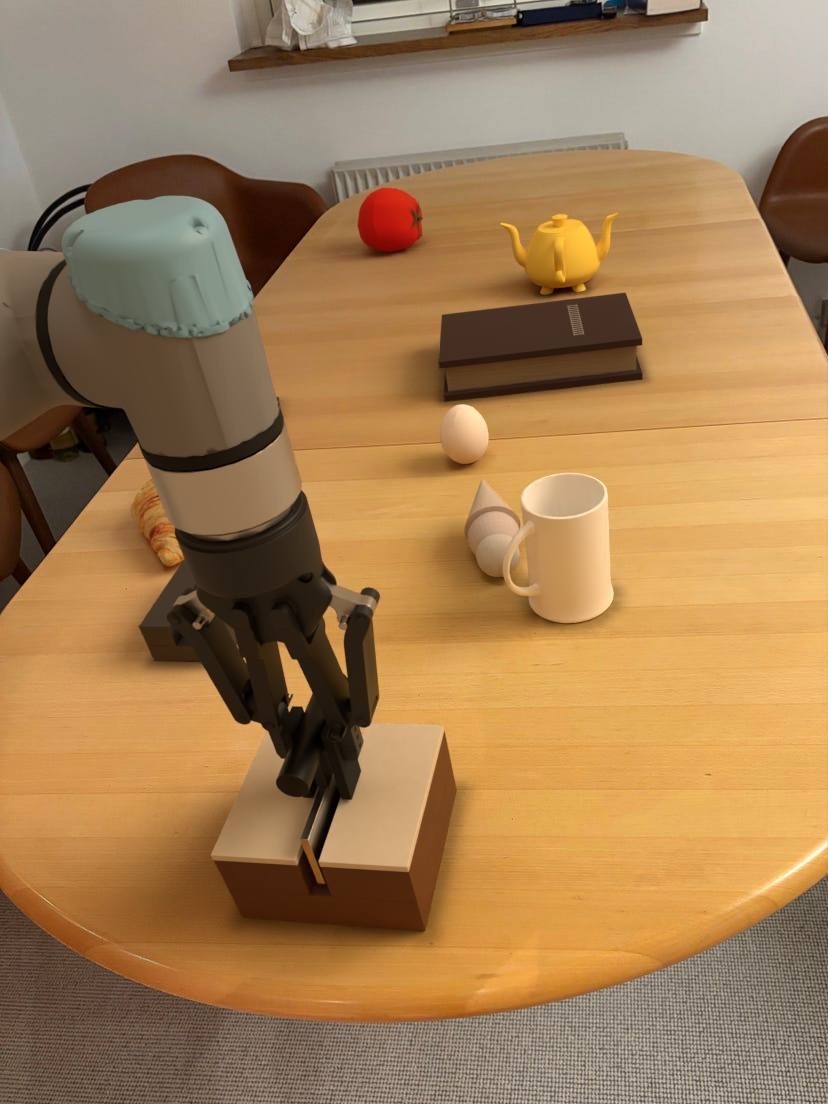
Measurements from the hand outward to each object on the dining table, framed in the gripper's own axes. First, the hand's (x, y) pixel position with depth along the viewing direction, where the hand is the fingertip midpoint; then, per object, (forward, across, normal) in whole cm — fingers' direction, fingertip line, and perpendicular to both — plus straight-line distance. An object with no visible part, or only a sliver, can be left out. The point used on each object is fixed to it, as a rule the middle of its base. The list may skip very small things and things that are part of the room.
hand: (332, 783), depth 66 cm
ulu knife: (+4, 0, 0) cm, 4 cm away
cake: (+8, 0, 0) cm, 8 cm away
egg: (+8, +1, -60) cm, 61 cm away
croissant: (+8, +35, -46) cm, 58 cm away
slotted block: (+8, +23, -28) cm, 37 cm away
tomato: (+8, +31, -148) cm, 151 cm away
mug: (+8, -13, -31) cm, 35 cm away
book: (+8, -5, -89) cm, 90 cm away
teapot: (+8, -6, -120) cm, 120 cm away
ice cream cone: (+8, -5, -41) cm, 42 cm away
